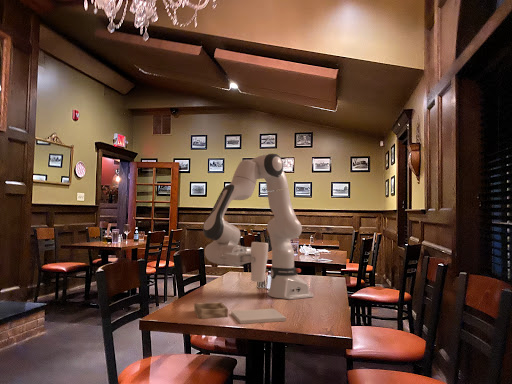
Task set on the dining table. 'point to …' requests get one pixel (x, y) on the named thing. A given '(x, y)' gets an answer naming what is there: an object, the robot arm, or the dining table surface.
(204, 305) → the wooden tray
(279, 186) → the robot arm
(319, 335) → the dining table surface
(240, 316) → the plate
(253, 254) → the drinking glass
